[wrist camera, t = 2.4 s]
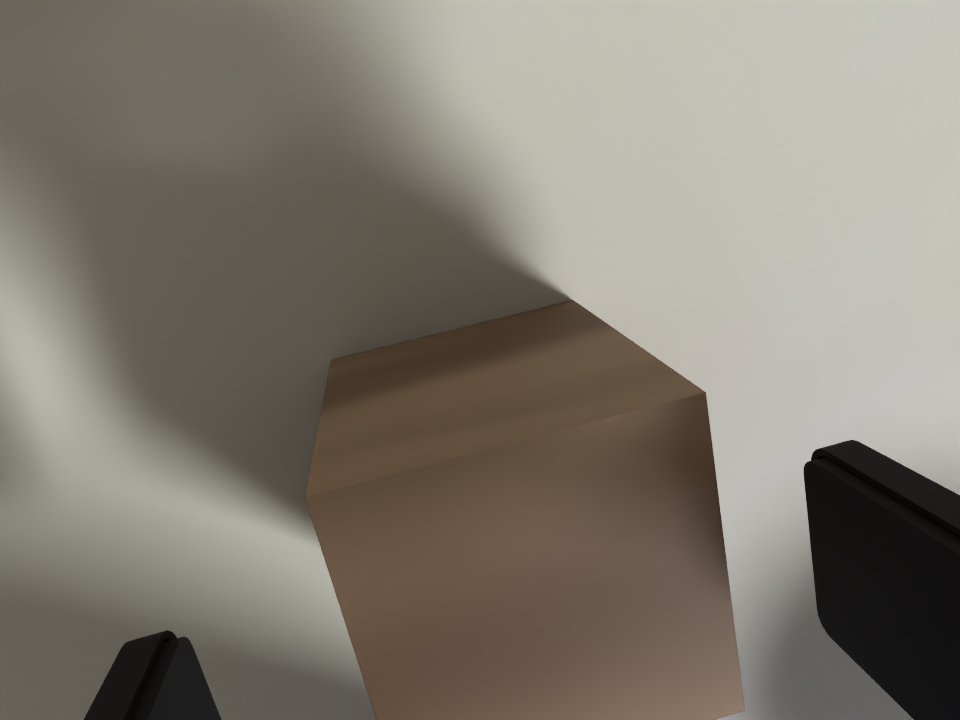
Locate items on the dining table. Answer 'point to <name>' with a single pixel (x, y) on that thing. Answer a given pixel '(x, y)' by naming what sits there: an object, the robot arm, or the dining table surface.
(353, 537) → the walnut block
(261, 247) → the dining table surface
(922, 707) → the robot arm
